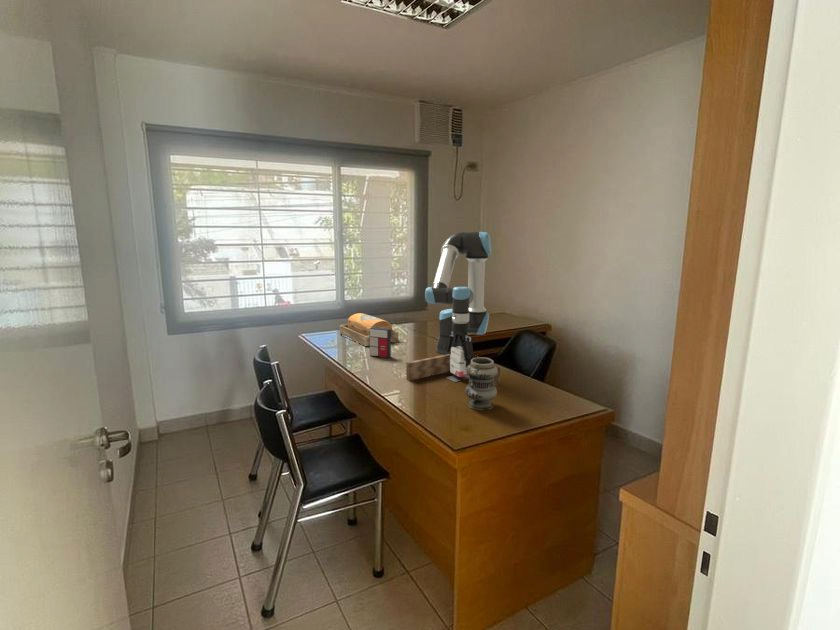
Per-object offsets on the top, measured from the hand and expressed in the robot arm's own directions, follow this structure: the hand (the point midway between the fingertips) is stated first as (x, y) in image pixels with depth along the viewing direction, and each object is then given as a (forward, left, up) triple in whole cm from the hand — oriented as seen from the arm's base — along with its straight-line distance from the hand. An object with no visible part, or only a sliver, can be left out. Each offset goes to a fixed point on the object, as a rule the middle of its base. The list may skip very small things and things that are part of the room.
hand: (459, 370), depth 196 cm
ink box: (0, 0, -2) cm, 2 cm away
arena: (+6, +3, -3) cm, 7 cm away
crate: (0, -87, -3) cm, 88 cm away
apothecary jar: (+13, +29, -4) cm, 32 cm away
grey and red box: (+13, -49, -4) cm, 51 cm away
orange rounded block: (0, -86, -4) cm, 86 cm away
